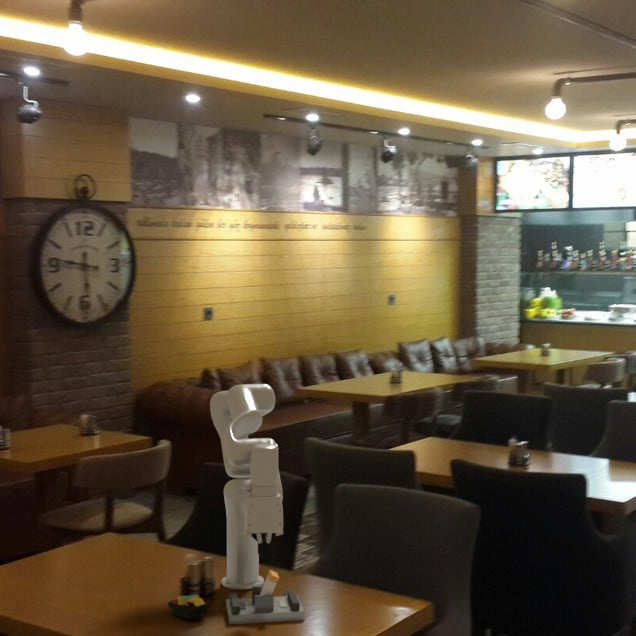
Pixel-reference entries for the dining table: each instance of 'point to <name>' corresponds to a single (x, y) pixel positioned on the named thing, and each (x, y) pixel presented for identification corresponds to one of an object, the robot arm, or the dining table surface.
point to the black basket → (189, 607)
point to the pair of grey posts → (288, 593)
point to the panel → (263, 609)
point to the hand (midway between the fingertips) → (263, 556)
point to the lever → (270, 583)
